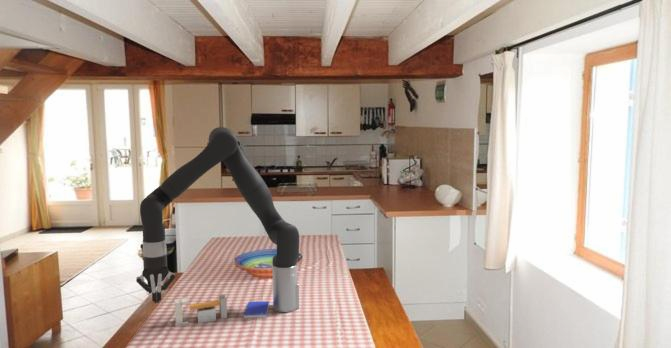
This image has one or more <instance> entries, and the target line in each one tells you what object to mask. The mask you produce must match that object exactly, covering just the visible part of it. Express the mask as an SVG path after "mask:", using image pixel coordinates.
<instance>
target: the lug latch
mask: <svg viewBox="0 0 671 348" xmlns="http://www.w3.org/2000/svg"><path fill="white" fill-rule="evenodd" d="M184 305H189V300H188V297H185V298H184V297H182V298H178V299H177V298H176V299H174V313H175V315H174V316H175V317H174V319H175V318H176V321H175V323H180V322H184V321H183V318H182V316H183V306H184Z"/></svg>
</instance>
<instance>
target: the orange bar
mask: <svg viewBox="0 0 671 348" xmlns="http://www.w3.org/2000/svg"><path fill="white" fill-rule="evenodd" d="M220 305H221V300H219V299H218V300H212V301H211V300H210V301H205V302H198V303H191V304H189V311H194V310H197V309H201V308H207V307H214V306H215V307H220Z"/></svg>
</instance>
